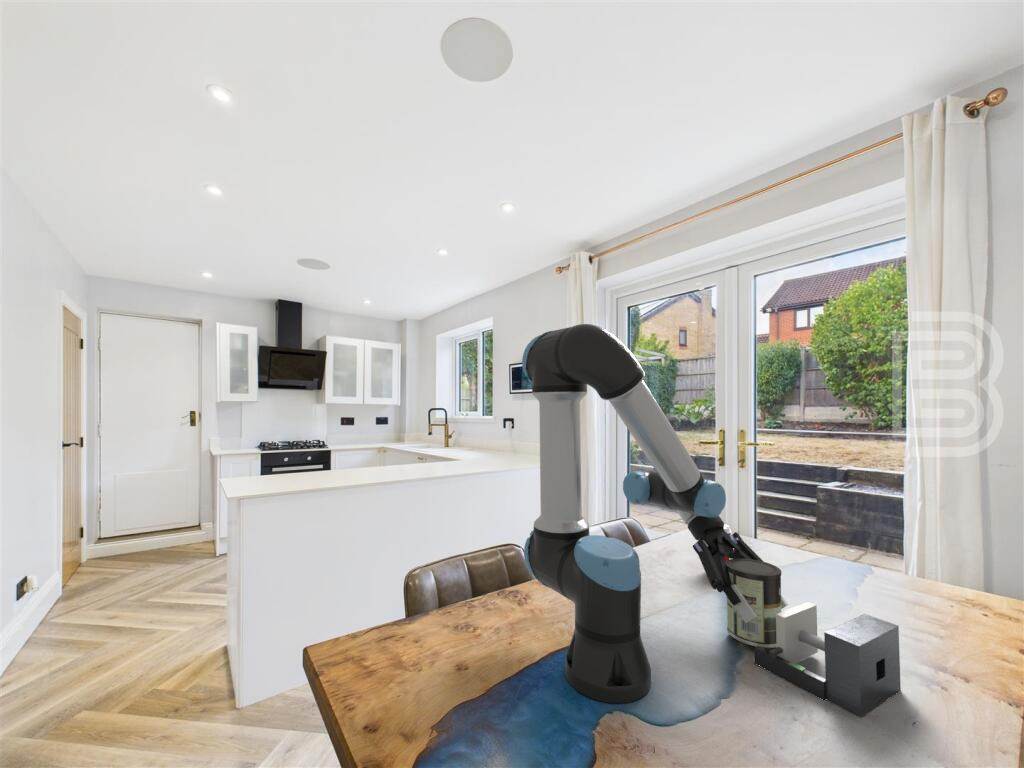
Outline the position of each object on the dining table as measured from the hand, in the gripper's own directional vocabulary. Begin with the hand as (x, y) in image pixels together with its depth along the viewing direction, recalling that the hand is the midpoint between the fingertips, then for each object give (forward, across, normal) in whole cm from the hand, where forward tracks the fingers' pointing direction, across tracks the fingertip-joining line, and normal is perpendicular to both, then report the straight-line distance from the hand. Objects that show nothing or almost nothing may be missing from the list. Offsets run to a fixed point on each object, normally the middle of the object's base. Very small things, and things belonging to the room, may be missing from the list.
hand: (767, 613), depth 90 cm
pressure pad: (+11, +2, +3) cm, 12 cm away
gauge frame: (+13, 0, +3) cm, 13 cm away
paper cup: (-17, -27, -27) cm, 42 cm away
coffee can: (+2, 0, -6) cm, 6 cm away
